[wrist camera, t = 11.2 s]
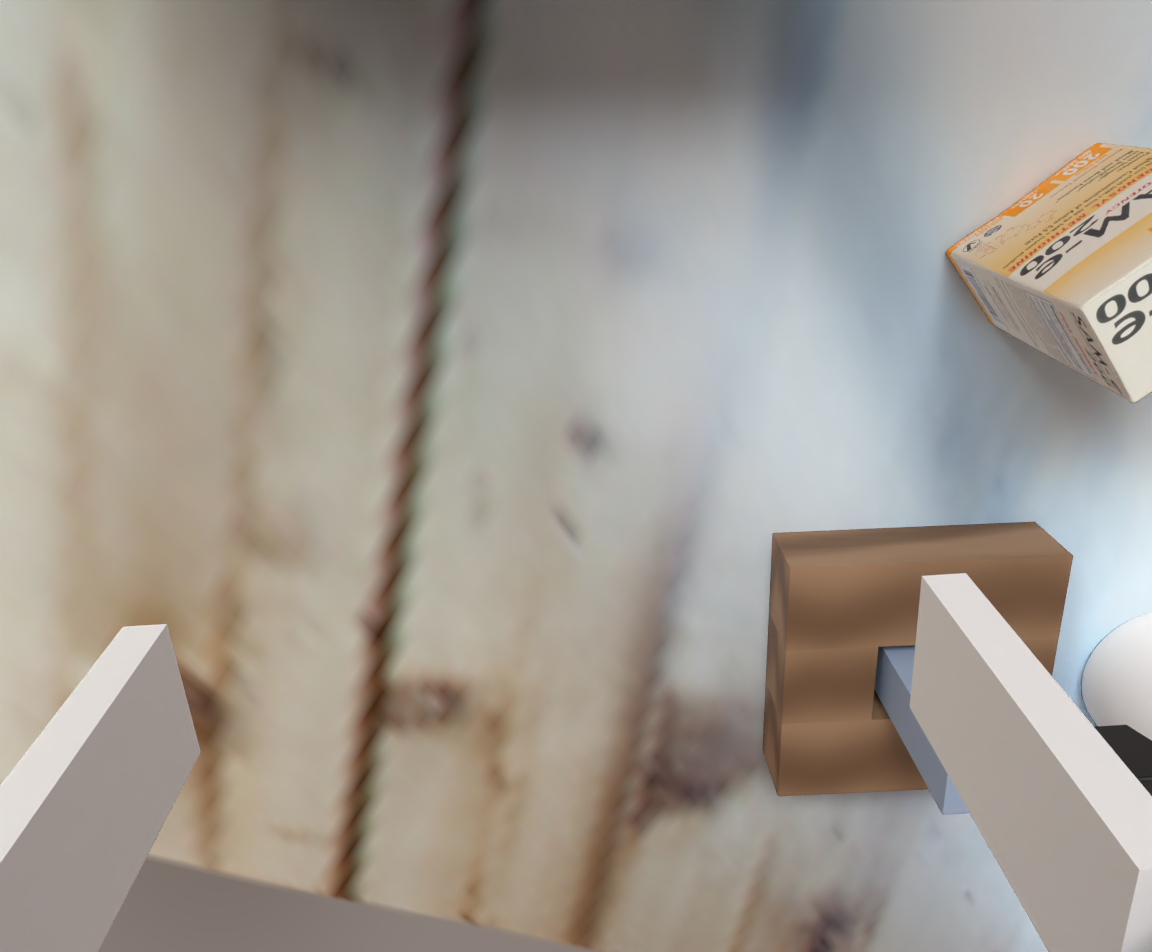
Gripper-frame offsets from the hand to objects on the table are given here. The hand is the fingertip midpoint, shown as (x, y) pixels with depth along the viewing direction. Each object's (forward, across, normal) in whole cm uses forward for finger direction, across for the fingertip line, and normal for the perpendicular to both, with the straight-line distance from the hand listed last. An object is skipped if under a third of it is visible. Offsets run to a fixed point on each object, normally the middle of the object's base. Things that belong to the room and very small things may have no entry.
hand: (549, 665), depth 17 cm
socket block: (+31, +18, -21) cm, 41 cm away
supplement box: (+31, +23, +1) cm, 39 cm away
